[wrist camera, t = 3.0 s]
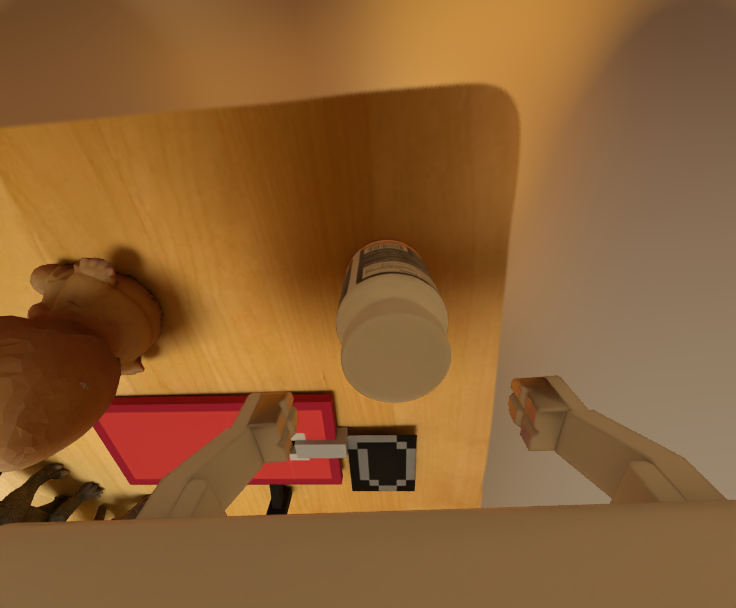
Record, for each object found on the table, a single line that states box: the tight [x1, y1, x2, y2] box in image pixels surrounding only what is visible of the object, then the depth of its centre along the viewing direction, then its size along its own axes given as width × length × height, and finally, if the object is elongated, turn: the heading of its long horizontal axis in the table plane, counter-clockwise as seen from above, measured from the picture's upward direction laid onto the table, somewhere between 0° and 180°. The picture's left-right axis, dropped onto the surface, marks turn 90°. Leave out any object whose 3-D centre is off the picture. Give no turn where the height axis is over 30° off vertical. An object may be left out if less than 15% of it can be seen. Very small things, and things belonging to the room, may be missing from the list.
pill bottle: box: [336, 240, 451, 403], centre depth 17 cm, size 6×6×10 cm
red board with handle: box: [93, 394, 417, 515], centre depth 29 cm, size 30×3×15 cm
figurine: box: [0, 258, 163, 472], centre depth 17 cm, size 10×8×15 cm
